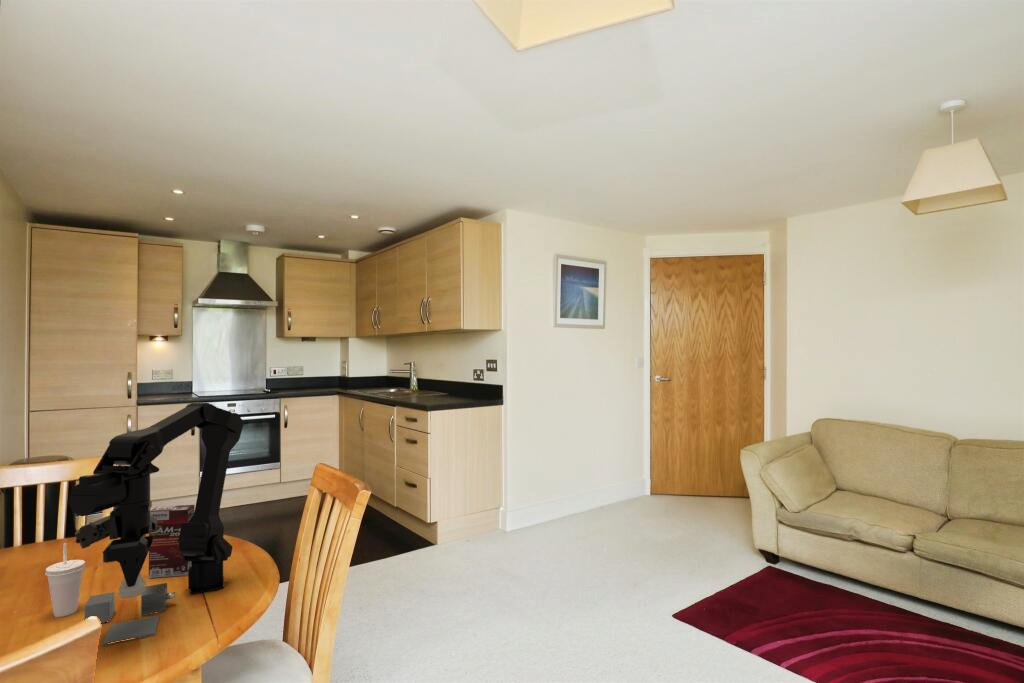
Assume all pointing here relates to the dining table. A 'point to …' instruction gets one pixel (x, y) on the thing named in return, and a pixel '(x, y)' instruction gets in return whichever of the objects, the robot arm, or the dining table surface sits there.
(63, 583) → the smoothie
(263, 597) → the dining table surface
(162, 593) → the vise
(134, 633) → the mat
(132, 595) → the rook chess piece
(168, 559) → the supplement box
